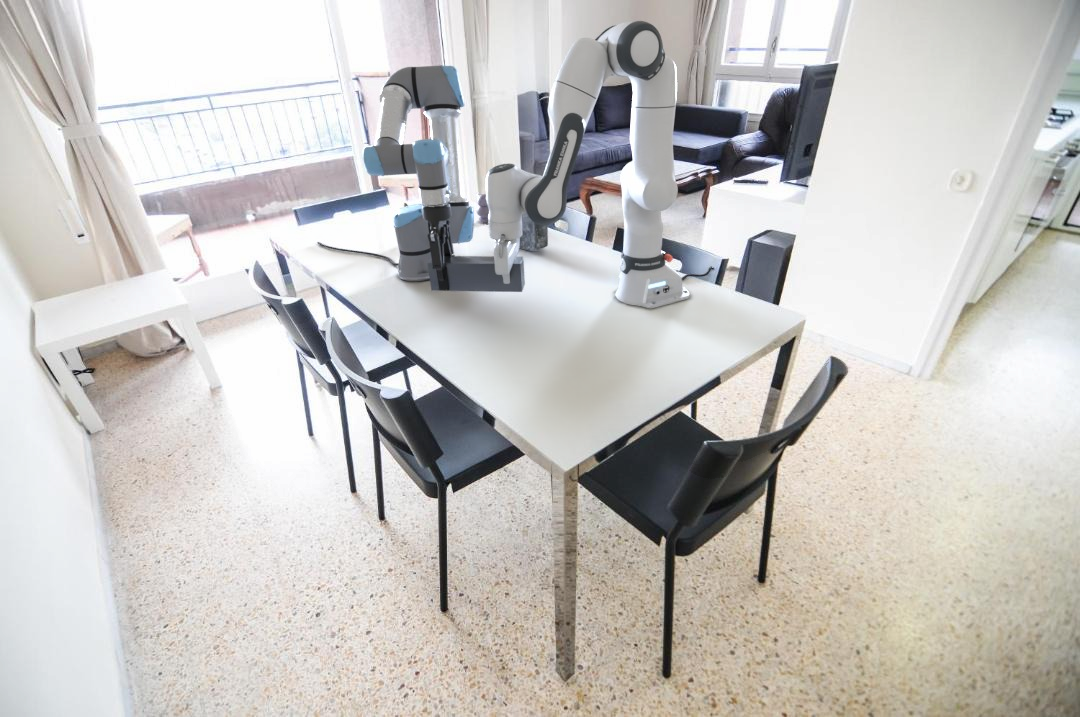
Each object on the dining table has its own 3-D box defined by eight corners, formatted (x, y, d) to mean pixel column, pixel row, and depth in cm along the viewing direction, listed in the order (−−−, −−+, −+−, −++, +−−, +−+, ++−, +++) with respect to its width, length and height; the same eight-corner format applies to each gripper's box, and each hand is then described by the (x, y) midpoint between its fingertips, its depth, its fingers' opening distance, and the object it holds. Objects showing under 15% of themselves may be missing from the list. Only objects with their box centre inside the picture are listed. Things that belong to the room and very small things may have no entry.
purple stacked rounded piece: (498, 220, 229) (496, 193, 223) (486, 224, 225) (483, 197, 218) (486, 217, 234) (484, 191, 228) (473, 221, 230) (471, 194, 223)
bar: (431, 290, 141) (427, 263, 137) (437, 283, 146) (433, 255, 142) (522, 292, 138) (520, 263, 134) (524, 284, 143) (523, 256, 139)
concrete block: (553, 252, 189) (552, 199, 179) (534, 258, 185) (532, 204, 175) (514, 236, 208) (511, 187, 198) (496, 241, 204) (492, 191, 193)
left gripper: (439, 213, 122) (451, 299, 135) (458, 194, 138) (467, 273, 150) (410, 213, 123) (424, 298, 135) (432, 195, 139) (443, 272, 151)
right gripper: (511, 241, 123) (514, 293, 131) (522, 218, 141) (524, 264, 148) (486, 241, 124) (491, 292, 131) (500, 218, 141) (504, 264, 148)
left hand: (447, 285), depth 143 cm, fingers closed on bar, 6 cm apart
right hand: (509, 277), depth 140 cm, fingers closed on bar, 5 cm apart
